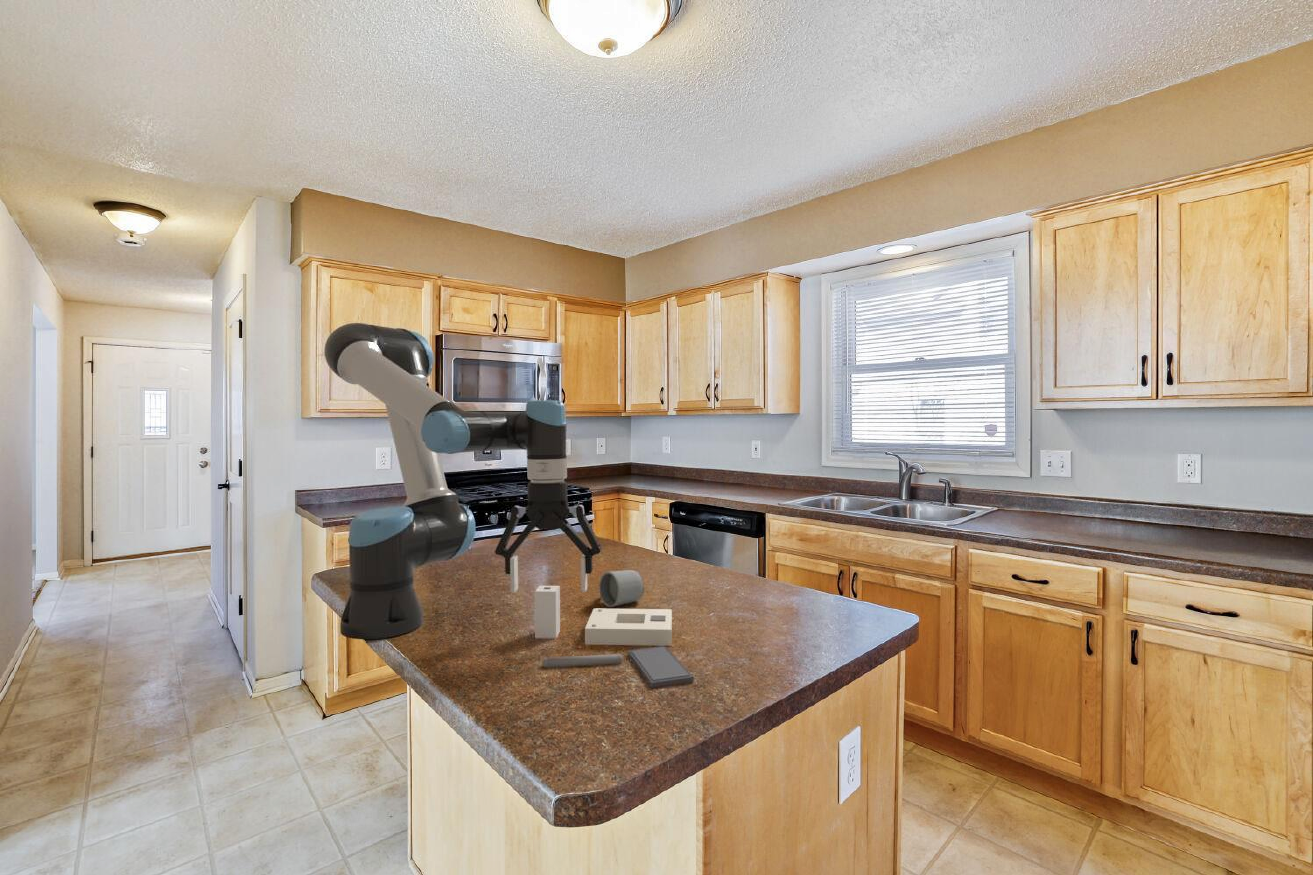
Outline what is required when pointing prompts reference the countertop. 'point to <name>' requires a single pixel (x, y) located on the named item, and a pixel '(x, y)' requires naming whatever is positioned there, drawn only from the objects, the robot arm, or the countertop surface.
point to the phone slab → (660, 666)
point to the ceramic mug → (621, 587)
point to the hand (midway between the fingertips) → (549, 590)
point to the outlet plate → (629, 627)
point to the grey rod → (582, 660)
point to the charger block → (547, 611)
